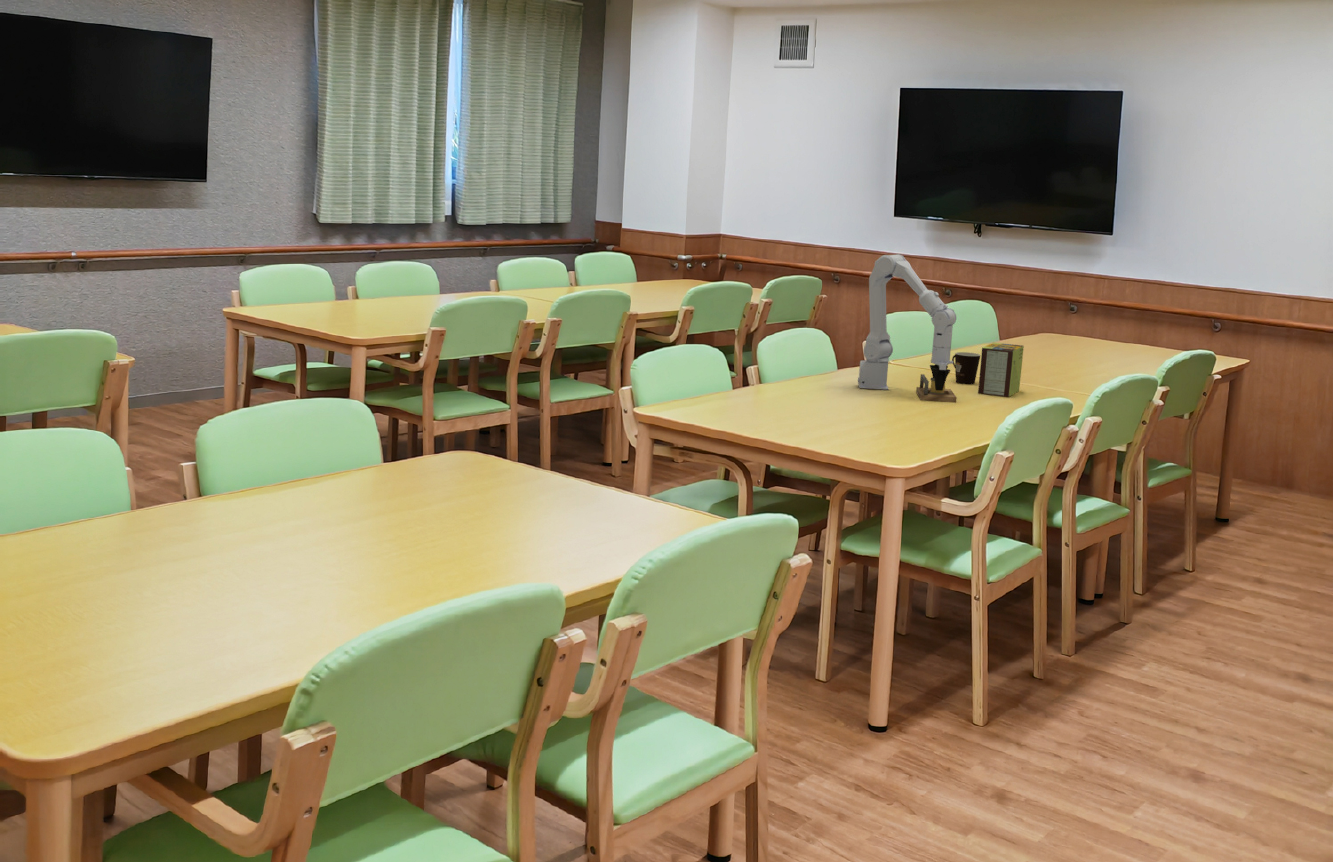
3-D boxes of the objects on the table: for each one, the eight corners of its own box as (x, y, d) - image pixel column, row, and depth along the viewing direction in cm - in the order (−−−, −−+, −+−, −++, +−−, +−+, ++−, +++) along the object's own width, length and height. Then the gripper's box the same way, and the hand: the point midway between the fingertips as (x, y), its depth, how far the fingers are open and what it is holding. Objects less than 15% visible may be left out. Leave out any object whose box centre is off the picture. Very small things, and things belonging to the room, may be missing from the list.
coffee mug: (980, 385, 413) (983, 356, 411) (955, 384, 413) (957, 355, 411) (972, 379, 425) (975, 351, 423) (948, 378, 425) (950, 350, 423)
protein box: (1019, 390, 406) (1024, 345, 403) (1009, 397, 393) (1013, 350, 389) (988, 387, 411) (992, 342, 407) (977, 393, 397) (981, 347, 394)
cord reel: (930, 394, 385) (932, 379, 384) (928, 392, 390) (929, 377, 389) (946, 395, 385) (947, 380, 384) (943, 393, 390) (944, 378, 389)
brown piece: (920, 400, 381) (922, 381, 380) (916, 391, 396) (917, 373, 394) (956, 402, 380) (957, 383, 379) (950, 393, 395) (951, 375, 393)
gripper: (957, 350, 377) (953, 393, 380) (951, 344, 391) (947, 385, 394) (934, 349, 377) (930, 392, 380) (929, 343, 392) (926, 384, 394)
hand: (938, 388), depth 387 cm, fingers closed on cord reel, 5 cm apart
